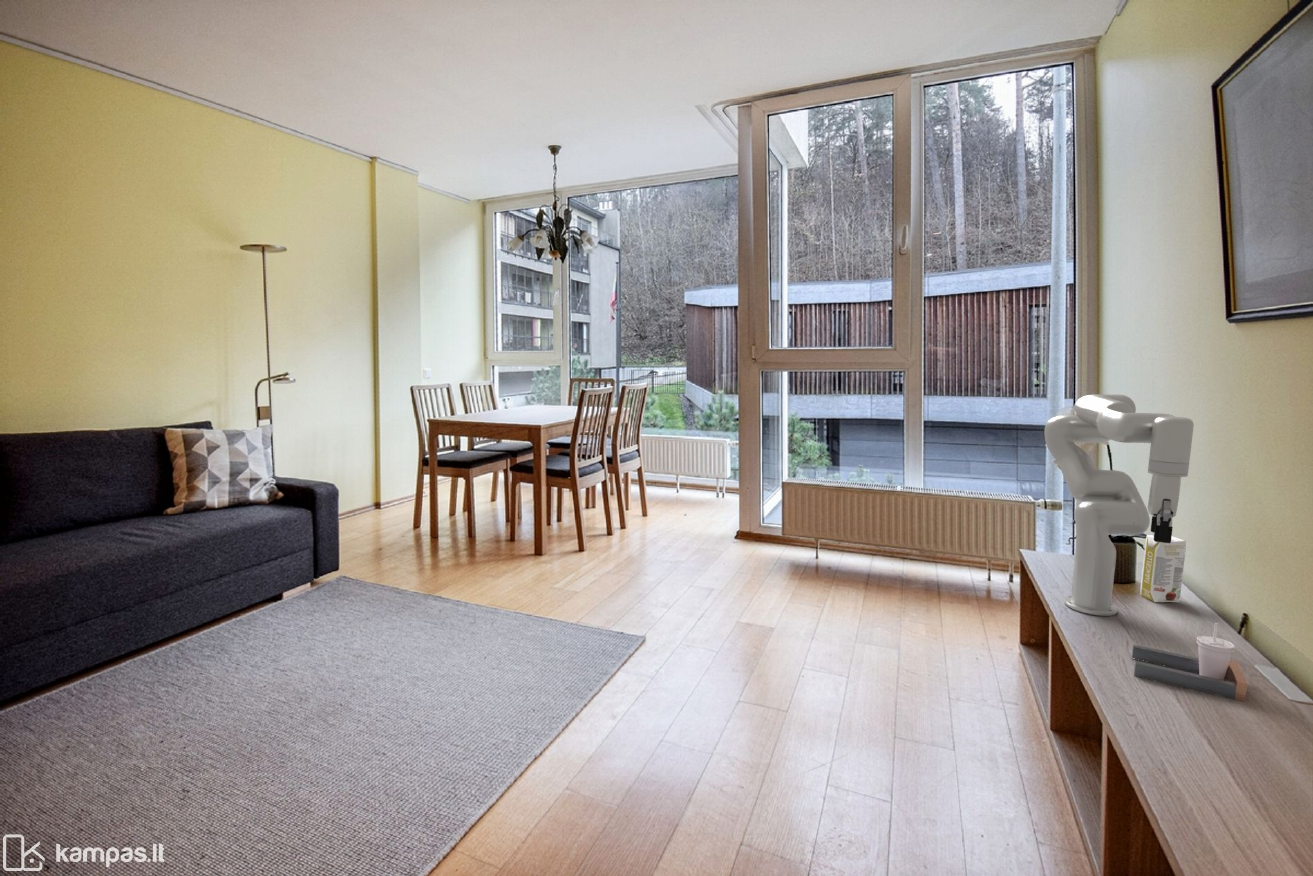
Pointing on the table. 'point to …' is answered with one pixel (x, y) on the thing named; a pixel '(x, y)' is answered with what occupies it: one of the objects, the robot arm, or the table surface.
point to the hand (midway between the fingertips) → (1160, 537)
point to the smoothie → (1214, 655)
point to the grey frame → (1230, 688)
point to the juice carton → (1163, 569)
